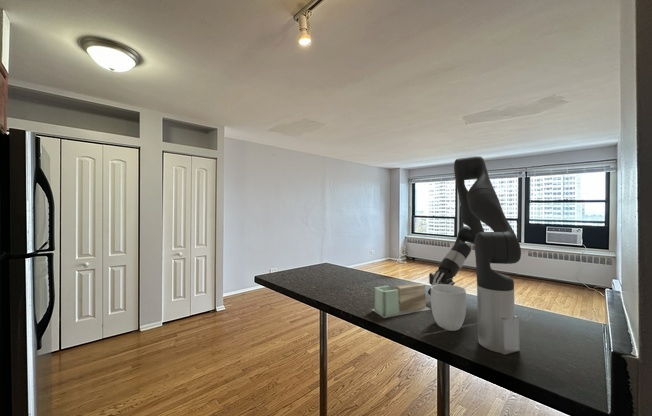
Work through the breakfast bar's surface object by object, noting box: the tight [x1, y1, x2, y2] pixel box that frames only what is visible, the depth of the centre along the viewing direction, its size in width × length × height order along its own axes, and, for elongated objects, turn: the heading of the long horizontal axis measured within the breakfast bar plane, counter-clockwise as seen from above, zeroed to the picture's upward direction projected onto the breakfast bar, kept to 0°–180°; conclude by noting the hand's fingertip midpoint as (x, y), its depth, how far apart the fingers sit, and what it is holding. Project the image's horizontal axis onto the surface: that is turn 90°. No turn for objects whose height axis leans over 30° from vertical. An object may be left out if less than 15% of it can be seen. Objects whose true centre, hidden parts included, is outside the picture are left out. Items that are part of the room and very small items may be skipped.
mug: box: [430, 284, 468, 332], centre depth 91 cm, size 15×11×13 cm
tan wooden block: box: [394, 282, 427, 311], centre depth 106 cm, size 4×12×9 cm, turn 110°
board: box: [371, 306, 431, 319], centre depth 105 cm, size 9×22×1 cm, turn 110°
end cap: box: [373, 285, 399, 316], centre depth 102 cm, size 7×7×9 cm
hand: (430, 294), depth 110 cm, fingers closed
